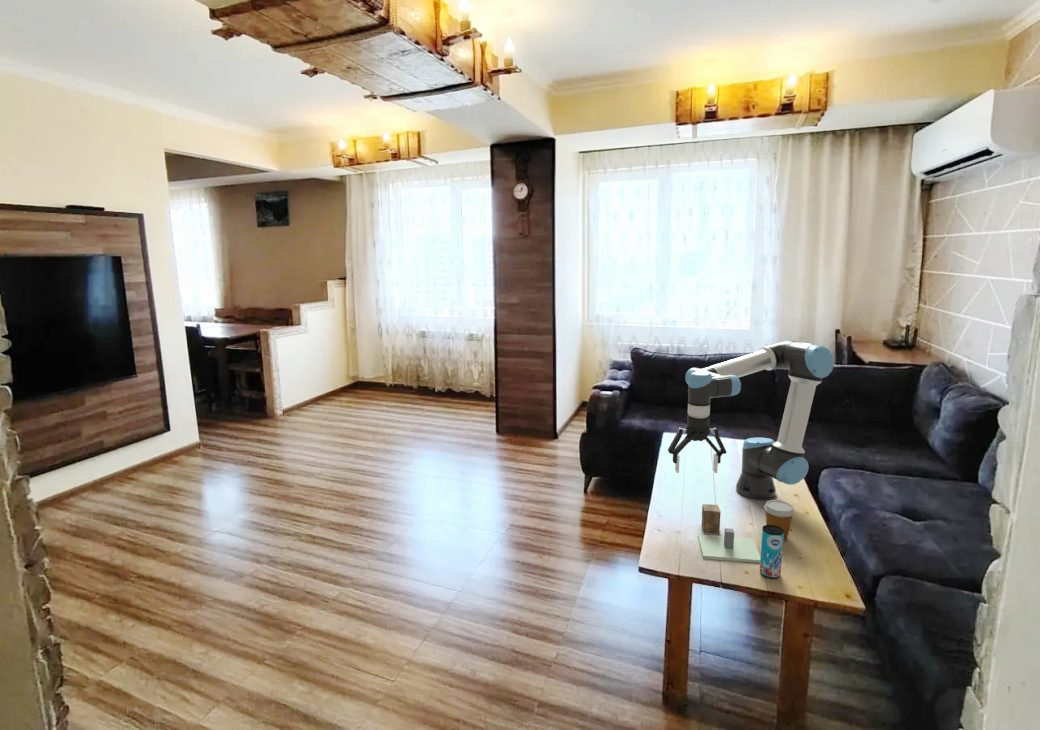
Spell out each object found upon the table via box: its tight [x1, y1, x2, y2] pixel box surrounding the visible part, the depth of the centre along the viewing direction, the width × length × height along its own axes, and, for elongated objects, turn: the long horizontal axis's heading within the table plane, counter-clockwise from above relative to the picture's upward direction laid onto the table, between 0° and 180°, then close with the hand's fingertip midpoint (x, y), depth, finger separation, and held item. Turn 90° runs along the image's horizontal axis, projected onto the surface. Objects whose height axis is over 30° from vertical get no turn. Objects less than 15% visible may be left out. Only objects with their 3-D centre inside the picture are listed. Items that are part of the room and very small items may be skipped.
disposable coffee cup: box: [763, 499, 796, 543], centre depth 187 cm, size 10×10×12 cm
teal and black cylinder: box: [759, 524, 784, 580], centre depth 165 cm, size 6×6×15 cm
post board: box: [697, 527, 761, 564], centre depth 180 cm, size 18×14×7 cm
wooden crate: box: [701, 503, 722, 535], centre depth 193 cm, size 5×5×9 cm
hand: (695, 471), depth 196 cm, fingers open, 13 cm apart
